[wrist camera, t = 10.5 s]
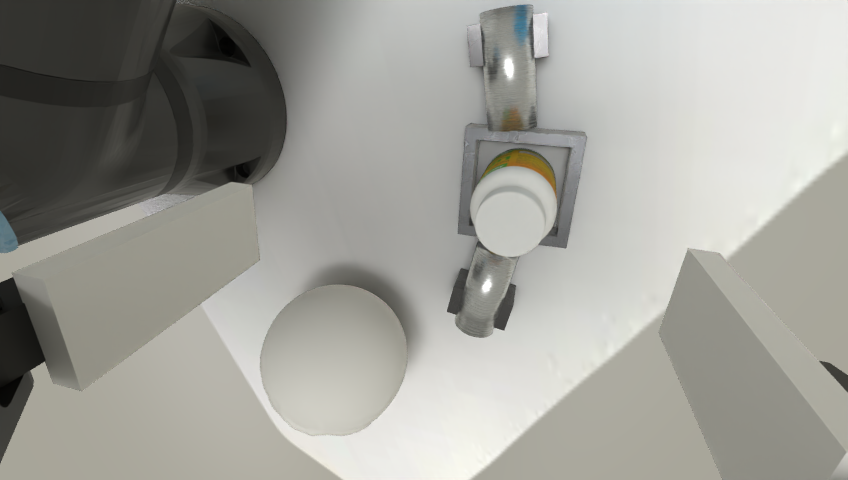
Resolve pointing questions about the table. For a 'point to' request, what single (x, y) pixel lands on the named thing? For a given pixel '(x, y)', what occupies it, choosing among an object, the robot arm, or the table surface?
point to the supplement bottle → (514, 202)
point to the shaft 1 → (509, 63)
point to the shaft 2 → (484, 293)
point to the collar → (527, 136)
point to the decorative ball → (333, 360)
